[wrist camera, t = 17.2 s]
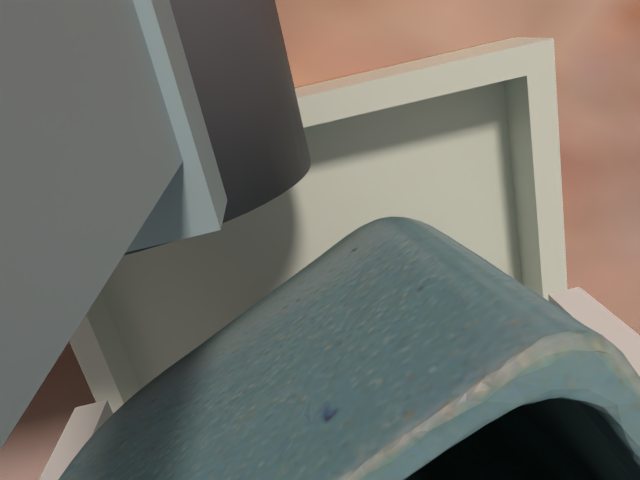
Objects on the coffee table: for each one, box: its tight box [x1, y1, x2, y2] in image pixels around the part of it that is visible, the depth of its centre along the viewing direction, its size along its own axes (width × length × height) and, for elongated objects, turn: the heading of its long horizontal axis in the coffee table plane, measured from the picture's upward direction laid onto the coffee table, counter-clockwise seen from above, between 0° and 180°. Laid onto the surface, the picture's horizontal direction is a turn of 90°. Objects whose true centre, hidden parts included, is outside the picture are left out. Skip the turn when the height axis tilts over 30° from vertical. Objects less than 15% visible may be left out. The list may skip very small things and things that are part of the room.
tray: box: [69, 37, 567, 413], centre depth 16 cm, size 13×13×2 cm
